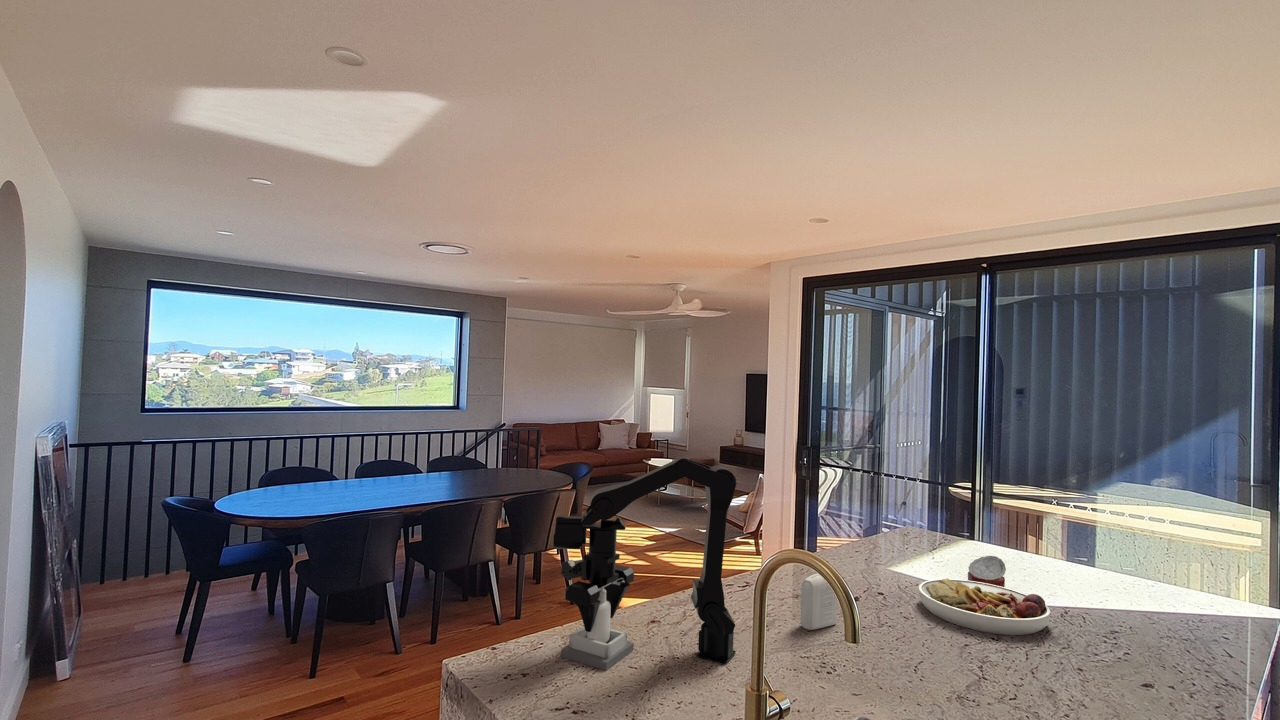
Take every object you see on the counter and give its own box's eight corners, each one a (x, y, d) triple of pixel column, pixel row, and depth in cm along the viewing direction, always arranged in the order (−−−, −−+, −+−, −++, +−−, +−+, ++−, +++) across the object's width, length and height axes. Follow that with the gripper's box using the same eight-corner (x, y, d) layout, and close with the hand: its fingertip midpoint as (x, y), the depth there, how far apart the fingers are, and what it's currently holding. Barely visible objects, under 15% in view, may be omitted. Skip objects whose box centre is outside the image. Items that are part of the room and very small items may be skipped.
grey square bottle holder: (633, 650, 129) (634, 631, 129) (606, 670, 119) (607, 650, 120) (590, 638, 134) (590, 619, 135) (560, 656, 125) (561, 636, 125)
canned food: (1005, 604, 182) (1018, 579, 178) (972, 599, 182) (984, 574, 178) (988, 576, 192) (1000, 552, 188) (957, 571, 193) (968, 547, 188)
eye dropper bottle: (582, 640, 127) (584, 582, 128) (605, 635, 130) (608, 579, 131) (590, 648, 124) (593, 588, 124) (615, 643, 126) (617, 585, 127)
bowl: (921, 625, 150) (922, 593, 151) (915, 590, 178) (916, 563, 179) (1064, 650, 139) (1065, 615, 140) (1034, 607, 167) (1035, 579, 167)
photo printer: (825, 618, 152) (827, 568, 152) (839, 624, 148) (841, 573, 149) (797, 626, 146) (799, 574, 147) (811, 632, 143) (813, 579, 143)
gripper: (594, 534, 140) (591, 603, 139) (544, 553, 123) (541, 631, 123) (636, 542, 135) (633, 613, 134) (590, 562, 118) (587, 644, 117)
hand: (599, 624), depth 127 cm, fingers closed on eye dropper bottle, 8 cm apart
